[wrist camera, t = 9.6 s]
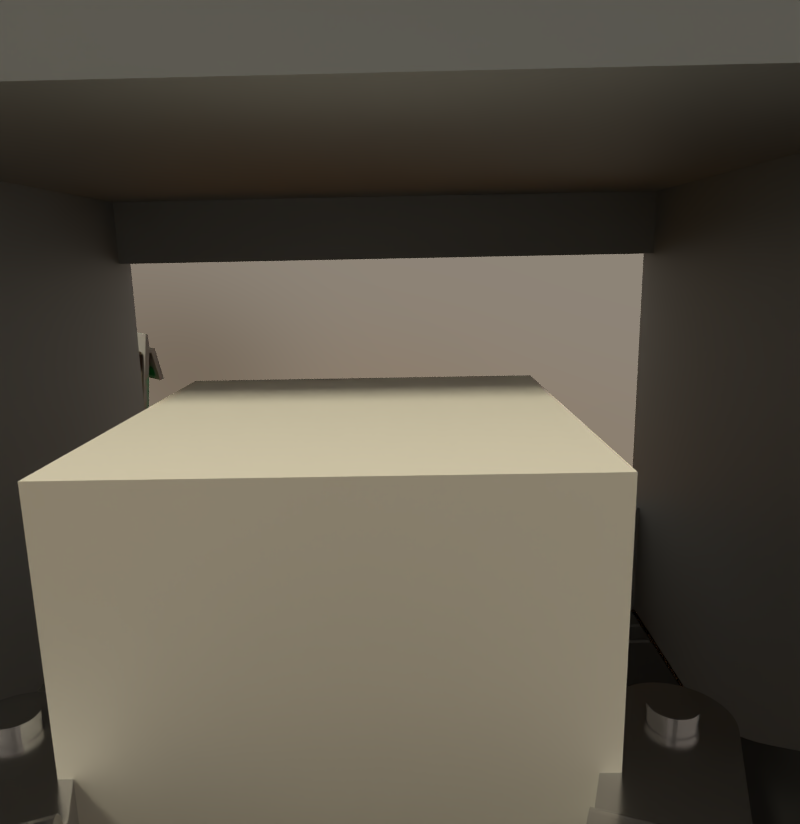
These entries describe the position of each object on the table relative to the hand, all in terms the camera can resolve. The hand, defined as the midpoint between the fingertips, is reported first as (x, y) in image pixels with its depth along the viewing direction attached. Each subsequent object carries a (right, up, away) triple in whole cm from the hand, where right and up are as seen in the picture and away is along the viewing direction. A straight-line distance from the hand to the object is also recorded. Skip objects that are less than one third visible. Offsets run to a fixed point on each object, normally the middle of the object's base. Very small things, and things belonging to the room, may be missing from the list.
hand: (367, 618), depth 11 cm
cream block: (0, -6, -1) cm, 7 cm away
